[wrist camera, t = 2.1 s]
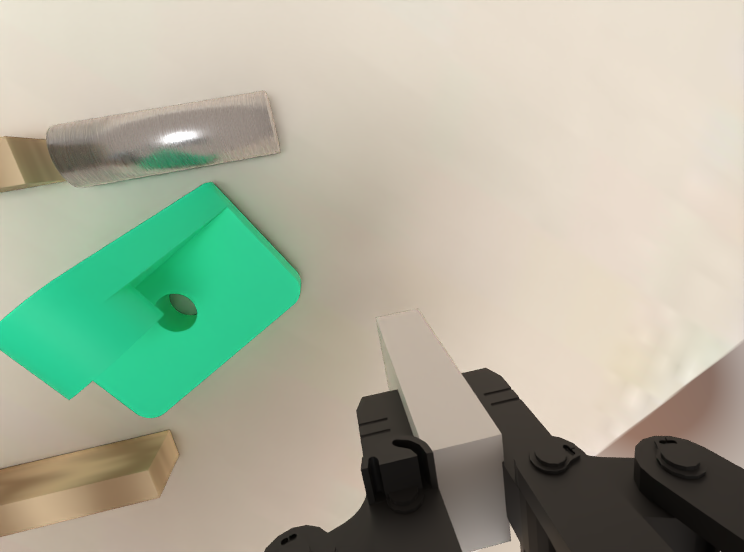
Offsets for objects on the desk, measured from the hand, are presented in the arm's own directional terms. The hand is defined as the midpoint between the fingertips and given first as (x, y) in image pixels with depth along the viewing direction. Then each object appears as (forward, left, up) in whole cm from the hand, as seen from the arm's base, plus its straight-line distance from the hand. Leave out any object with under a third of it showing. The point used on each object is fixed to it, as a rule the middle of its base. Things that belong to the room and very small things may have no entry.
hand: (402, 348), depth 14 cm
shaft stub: (-8, +10, -10) cm, 17 cm away
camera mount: (-11, 0, -12) cm, 16 cm away
